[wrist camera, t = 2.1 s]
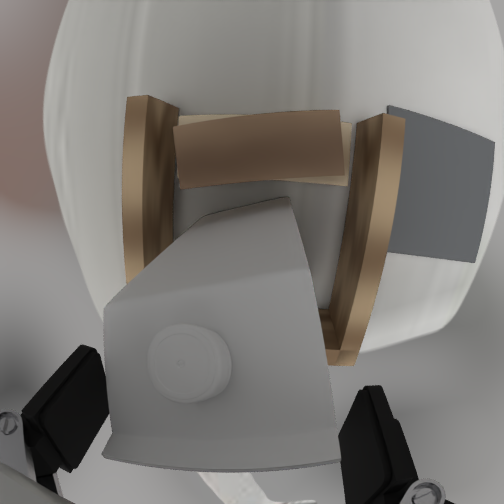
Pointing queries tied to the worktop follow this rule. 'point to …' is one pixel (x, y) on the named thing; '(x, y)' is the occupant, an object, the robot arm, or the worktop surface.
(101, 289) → the worktop surface
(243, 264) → the milk carton
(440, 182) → the mat
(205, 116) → the offcut lower
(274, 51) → the worktop surface
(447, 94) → the worktop surface
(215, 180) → the offcut upper
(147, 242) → the rack
